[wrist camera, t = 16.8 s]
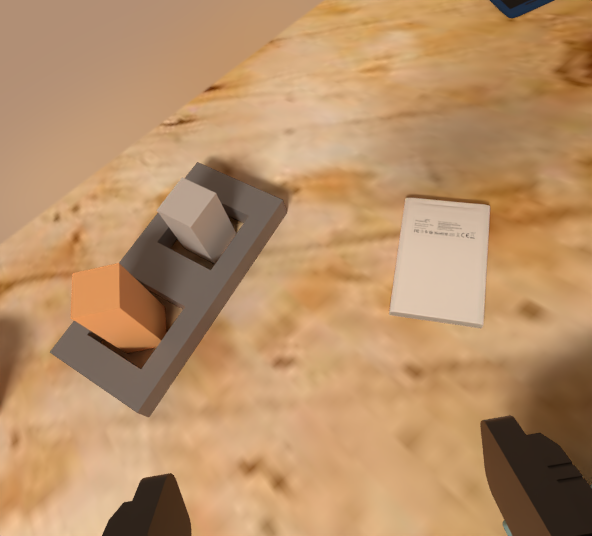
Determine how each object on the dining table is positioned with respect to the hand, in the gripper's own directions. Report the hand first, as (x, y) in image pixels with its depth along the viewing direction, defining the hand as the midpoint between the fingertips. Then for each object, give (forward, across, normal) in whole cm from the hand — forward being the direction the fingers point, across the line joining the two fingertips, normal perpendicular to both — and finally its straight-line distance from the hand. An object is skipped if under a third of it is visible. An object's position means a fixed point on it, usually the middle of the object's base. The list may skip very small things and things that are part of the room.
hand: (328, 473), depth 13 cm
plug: (+34, +18, +9) cm, 39 cm away
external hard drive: (+35, -12, +9) cm, 38 cm away
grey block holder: (+37, +14, +6) cm, 40 cm away
